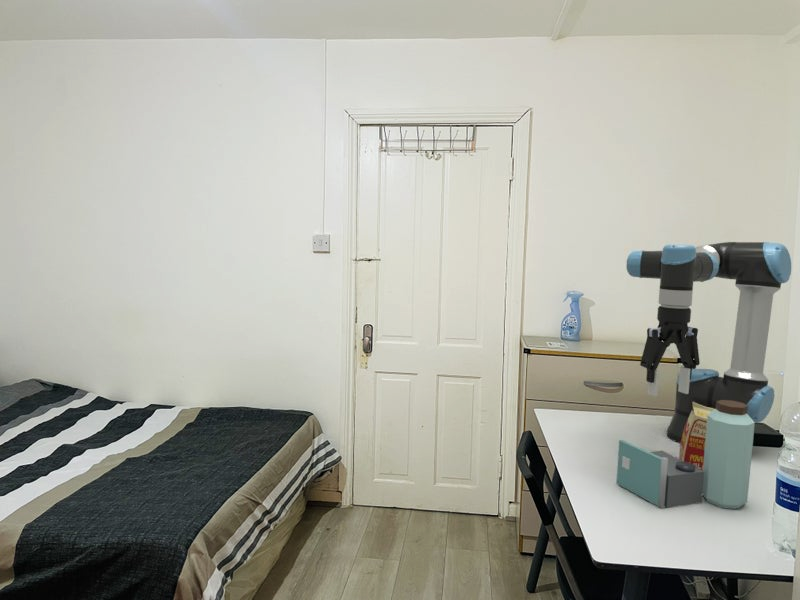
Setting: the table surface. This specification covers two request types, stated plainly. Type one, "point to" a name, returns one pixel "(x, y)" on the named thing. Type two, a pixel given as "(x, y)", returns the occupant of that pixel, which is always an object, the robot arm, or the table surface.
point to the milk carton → (695, 436)
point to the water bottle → (728, 454)
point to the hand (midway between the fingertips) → (667, 393)
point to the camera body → (682, 482)
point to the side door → (642, 472)
